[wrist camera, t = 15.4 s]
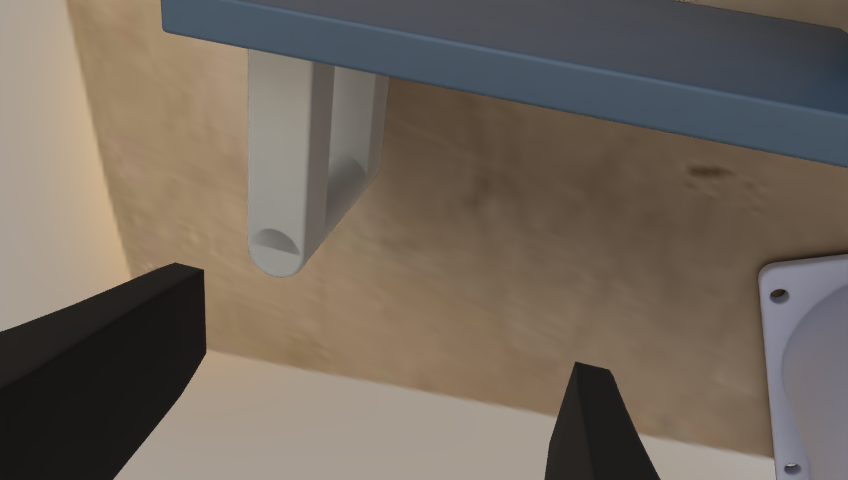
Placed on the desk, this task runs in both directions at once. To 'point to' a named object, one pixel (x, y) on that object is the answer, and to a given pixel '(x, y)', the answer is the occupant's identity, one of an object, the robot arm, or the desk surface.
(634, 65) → the cabinet door
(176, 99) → the desk surface
